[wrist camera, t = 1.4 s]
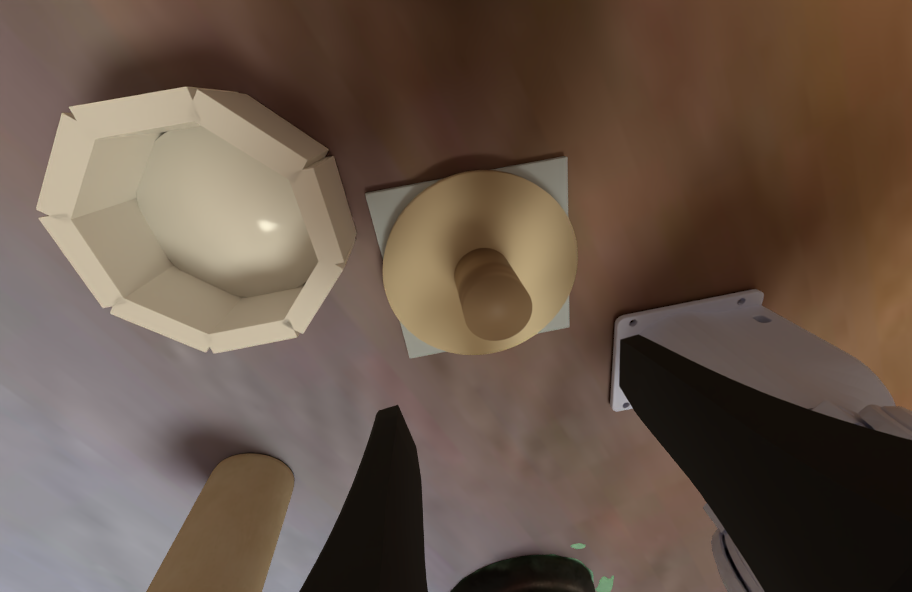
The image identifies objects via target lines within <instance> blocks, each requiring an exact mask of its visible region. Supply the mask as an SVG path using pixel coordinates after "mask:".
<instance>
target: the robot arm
mask: <svg viewBox="0 0 912 592" xmlns="http://www.w3.org/2000/svg"><path fill="white" fill-rule="evenodd" d="M763 298H764V294H763V292H761V291H759V290H757V289H753V290H748V291H743V292H737V293H732V294H727V295H722V296H717V297H712V298H707V299H702V300H697V301H692V302H687V303H682V304H677V305H672V306H666V307H661V308H656V309H651V310H646V311H641V312H636V313H631V314H626V315H622V316H620V317H618V318H617V319H616V321H615V330H614V347H613V364H612V381H611V398H610V406H611V408H612V409H613V410H614V411H622V410H627V409H632V408H633V409H634V411H635V412H636V414H637V415H638V416H639V418H640V419H641V420H642V421H643V423H644V424H645V425H646V426H647V428H648V429H649V430H650V431H651V433H652V434H653V435H654V436H655V437H656V439H657V440H658V441H659V442H660V444H661V445H662V446H663V447H664V448H665V450H666V451H667V452H668V453H669V454H670V456H671V457H672V458H673V459H674V461H675V462H676V463H677V464H678V465H679V467H680V468H681V469H682V470H683V472H684V473H685V474H686V475H687V476H688V478H689V479H690V480H691V482H692V483H693V484H694V486H695V487H696V488H697V489H698V491H699V492H700V493H701V495H702V496H703V498H704V499H705V501H706V502H707V503H706V504H705V505H704V507H703V509H704V510H705V511H706V513H707V514H708V516H709V517H710V518H711V520H712V521H713V522H714V524H715V525H716V526H717V528H718V529H717V530H716V531H715V533H714V534H713V536H712V541H711V544H712V551H713V555H714V558H715V562H716V564H717V568H718V571H719V574H720V576H721V579H722V581H723V583H724V585H725V587H726V589H727V591H728V592H912V411H910V410H908V409H906V408H903V407H900V406H895V403H894V400H893V398H892V396H891V394H890V393H889V391H888V390H887V388H886V387H885V385H884V384H883V383H882V382H881V380H880V379H879V378H878V377H877V376H876V375H875V374H874V373H873V372H872V371H871V370H870V369H869V368H868V367H867V366H866V365H864V364H863V363H862V362H861V361H859V360H858V359H856V358H855V357H853V356H852V355H850V354H848V353H846V352H845V351H843V350H841V349H839V348H837V347H836V346H834V345H832V344H830V343H828V342H827V341H825V340H823V339H821V338H819V337H818V336H816V335H814V334H812V333H810V332H809V331H807V330H805V329H803V328H801V327H800V326H798V325H796V324H794V323H792V322H791V321H789V320H787V319H785V318H783V317H782V316H780V315H778V314H776V313H775V312H773V311H771V310H769V309H767V308H766V307H764V306H762V302H763ZM738 300H739V301H738ZM631 320H633V322H632V323H630V321H631ZM299 592H428V589H427V581H426V569H425V554H424V530H423V507H422V485H421V475H420V468H419V462H418V455H417V449H416V445H415V443H414V441H413V438H412V436H411V434H410V431H409V429H408V427H407V424H406V422H405V420H404V417H403V415H402V413H401V411H400V408H399V406H398V405H396V406H393V407H389V408H386V409H383V410H379V411H378V413H377V414H376V418H375V421H374V424H373V428H372V431H371V434H370V437H369V440H368V443H367V446H366V449H365V452H364V455H363V458H362V461H361V463H360V466H359V469H358V471H357V474H356V477H355V479H354V482H353V484H352V487H351V489H350V491H349V494H348V496H347V498H346V501H345V503H344V505H343V508H342V510H341V512H340V515H339V517H338V519H337V521H336V523H335V525H334V527H333V529H332V532H331V534H330V536H329V538H328V540H327V542H326V544H325V545H324V547H323V549H322V551H321V553H320V555H319V557H318V559H317V561H316V563H315V564H314V566H313V568H312V570H311V572H310V573H309V575H308V577H307V579H306V581H305V582H304V584H303V586H302V588H301V590H300V591H299Z"/></svg>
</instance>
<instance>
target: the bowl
mask: <svg viewBox="0 0 912 592" xmlns="http://www.w3.org/2000/svg"><path fill="white" fill-rule="evenodd" d="M69 109H70V110H71V112H72V113H62V114H61V118H60V122H59V126H58V129H57V133H56V137H55V141H54V144H53V148H52V152H51V155H50V159H49V163H48V167H47V170H46V174H45V178H44V181H43V185H42V189H41V193H40V196H39V200H38V204H37V207H36V210H38V211H40V212H43V213H45V214H47V216H43V217H40V218H39V220H40V221H41V223H42V224H43V225H44V227H45V228H46V230H47V231H48V232H49V234H50V235H51V237H52V238H53V239H54V241H55V242H56V243H57V245H58V246H59V248H60V249H61V250H62V252H63V253H64V255H65V256H66V257H67V259H68V260H69V262H70V263H71V264H72V266H73V267H74V269H75V270H76V271H77V273H78V274H79V276H80V277H81V278H82V280H83V281H84V283H85V284H86V285H87V287H88V288H89V290H90V291H91V292H92V294H93V295H94V297H95V298H96V299H97V301H98V302H99V304H100V305H101V306H102V308H106V307H111V306H113V307H112V310H111V312H110V314H112V315H115V316H117V317H120V318H122V319H125V320H127V321H130V322H132V323H134V324H137V325H139V326H142V327H144V328H147V329H149V330H152V331H154V332H156V333H159V334H161V335H164V336H166V337H169V338H171V339H174V340H176V341H179V342H181V343H183V344H186V345H188V346H191V347H193V348H196V349H198V350H201V351H203V352H207V351H208V350H209V349H210V348H211V350H212V351H213V353H220V352H225V351H230V350H235V349H240V348H245V347H250V346H256V345H261V344H266V343H271V342H276V341H281V340H286V339H292V338H297V337H298V335H299V333H302V334H303V333H304V331H305V330H306V328H307V326H308V325H309V323H310V322H311V320H312V319H313V317H314V315H315V314H316V312H317V311H318V309H319V307H320V306H321V304H322V303H323V301H324V299H325V298H326V296H327V295H328V293H329V292H330V290H331V288H332V287H333V285H334V284H335V282H336V280H337V279H338V277H339V276H340V274H341V272H342V271H343V269H344V267H345V265H346V262H347V260H348V257H349V255H350V253H351V250H352V248H353V245H354V243H355V241H356V239H355V237H356V234H357V232H356V229H355V225H354V222H353V219H352V215H351V212H350V209H349V205H348V202H347V199H346V195H345V192H344V189H343V185H342V182H341V179H340V175H339V172H338V169H337V165H336V162H335V158H334V156H329V157H325V156H326V154H327V153H328V151H329V149H328V148H326V147H325V146H323V145H322V144H320V143H319V142H317V141H316V140H314V139H313V138H311V137H310V136H308V135H307V134H305V133H304V132H302V131H301V130H299V129H298V128H296V127H295V126H293V125H292V124H290V123H289V122H287V121H286V120H284V119H283V118H281V117H280V116H278V115H277V114H275V113H274V112H272V111H271V110H269V109H268V108H267V107H265V106H264V105H262V104H261V103H259V102H258V101H256V100H255V99H253V98H252V97H250V96H249V95H247V94H242V93H238V92H235V91H225V90H216V89H206V88H196V87H187V86H186V87H181V88H175V89H169V90H163V91H158V92H152V93H146V94H140V95H135V96H129V97H123V98H117V99H112V100H106V101H100V102H95V103H89V104H83V105H77V106H72V107H69ZM306 281H307V282H306Z"/></svg>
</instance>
